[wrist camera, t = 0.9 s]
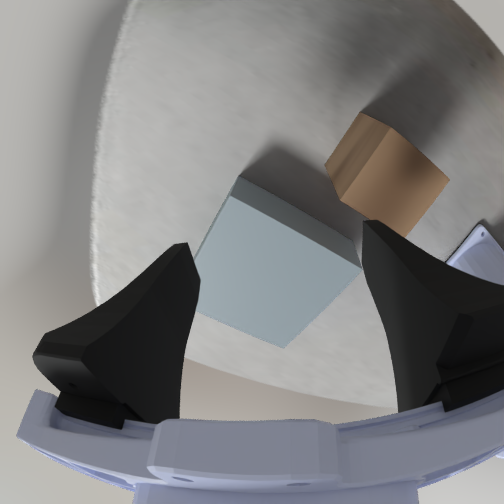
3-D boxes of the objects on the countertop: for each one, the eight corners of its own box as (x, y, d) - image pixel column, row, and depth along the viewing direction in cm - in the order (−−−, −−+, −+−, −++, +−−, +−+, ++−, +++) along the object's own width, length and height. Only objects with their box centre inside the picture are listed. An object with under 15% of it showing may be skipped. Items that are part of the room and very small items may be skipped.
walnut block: (409, 149, 17) (450, 179, 12) (374, 197, 20) (401, 241, 15) (359, 111, 16) (390, 127, 11) (324, 164, 19) (339, 200, 14)
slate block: (351, 238, 22) (362, 269, 19) (284, 315, 27) (283, 348, 24) (239, 173, 20) (229, 195, 17) (187, 269, 25) (174, 300, 22)
